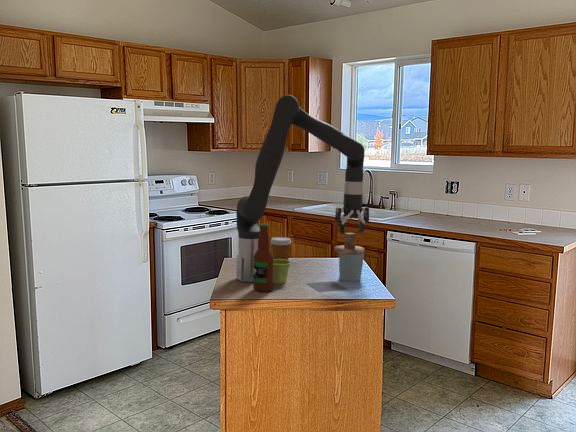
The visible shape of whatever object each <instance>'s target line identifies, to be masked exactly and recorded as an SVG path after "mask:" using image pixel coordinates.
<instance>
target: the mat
mask: <svg viewBox="0 0 576 432" xmlns="http://www.w3.org/2000/svg"><path fill="white" fill-rule="evenodd" d="M306 285H307V286H308V287H310V288H311V289H313V290H315V291H317V292H318V293H323V292H324V293H326V292H333V291H334V292H335V291H344V290H348V288H347V287H344V286H343V285H342V284H339V283H338V282H336V281H334V280H331V281H329V280H328V281H319V282H310V283H309V282H307V283H306Z"/></svg>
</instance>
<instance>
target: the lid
mask: <svg viewBox="0 0 576 432" xmlns="http://www.w3.org/2000/svg"><path fill="white" fill-rule="evenodd" d="M356 237H357V234H356V233H354V232H344V244H342V245H336V246H334V251H335V252H336V253H338V254H339V253H343V254H361V253H364V254H365V251H366V250H365V249H366V248H364V247H363V246H360V245H356V240H357V238H356Z"/></svg>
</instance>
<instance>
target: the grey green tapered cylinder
mask: <svg viewBox="0 0 576 432" xmlns="http://www.w3.org/2000/svg"><path fill="white" fill-rule="evenodd" d="M364 257H365V252H364V253H361V254H343V253H338V260H339V261H338V268H339V269H338V271H339V272H338V274H339V275H338V276H339V277H338V278H339V280H340V281H343V282H346V283H349V282H350V283H353V282H354V283H356V282H361V279H362V272H363V271H362V270H363V264H364Z"/></svg>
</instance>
